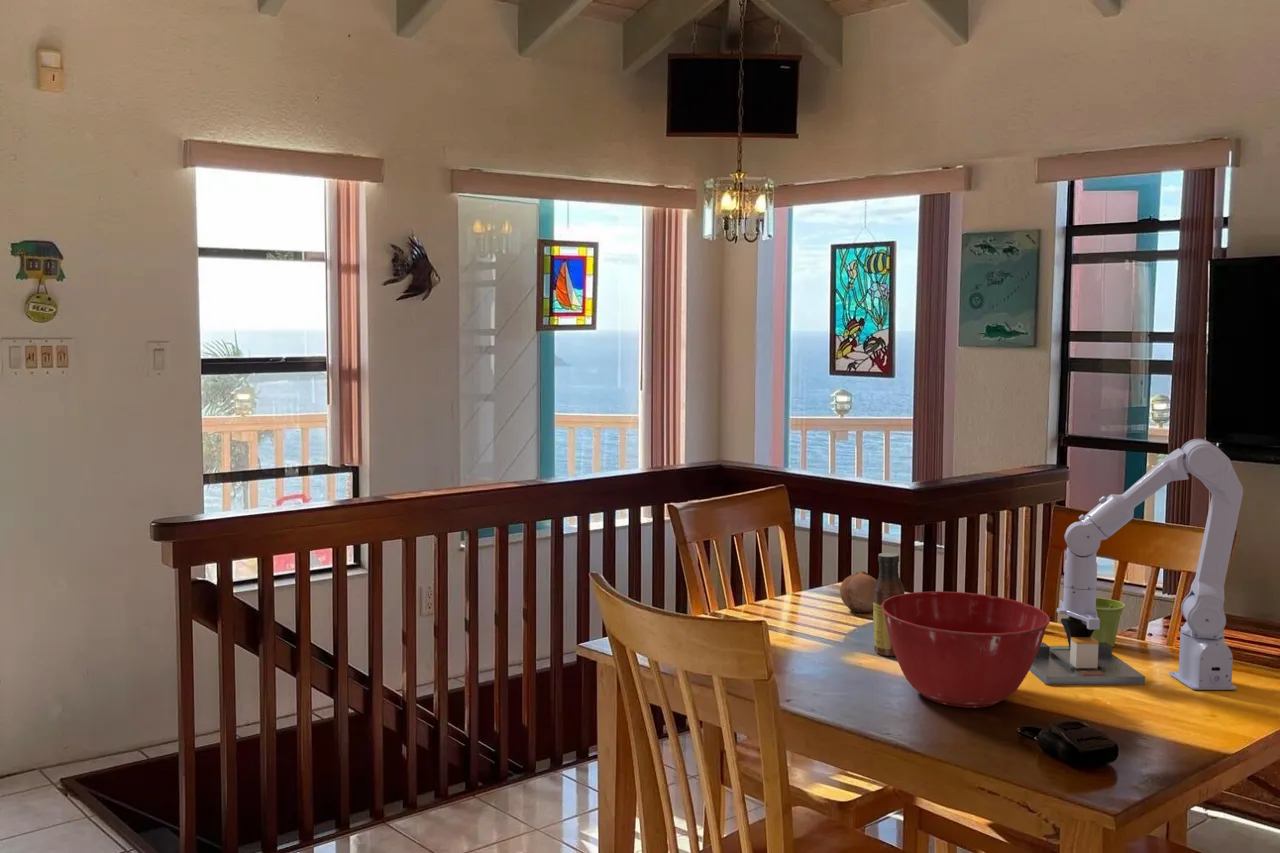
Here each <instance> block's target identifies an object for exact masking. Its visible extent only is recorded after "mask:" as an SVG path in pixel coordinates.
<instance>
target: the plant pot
mask: <svg viewBox="0 0 1280 853" xmlns="http://www.w3.org/2000/svg"><path fill="white" fill-rule="evenodd" d="M1125 608H1126V604H1125V603H1123V602H1121V601H1119V600H1115V599H1110V598H1103V597H1096V611H1097V617H1098V618H1099V619H1100V629H1099V630H1094V632H1093V633H1092V635H1091V637H1093V638H1094V639H1096V640H1097V641H1098V642H1106V643H1107V644H1109V645H1110V646H1112V648H1113V647H1115V644H1116V641H1117V640H1116V638H1117V634H1118V629H1119V624H1120V619H1121V615H1122V614H1123V610H1124V609H1125Z"/></svg>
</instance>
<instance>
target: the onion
mask: <svg viewBox="0 0 1280 853" xmlns="http://www.w3.org/2000/svg"><path fill="white" fill-rule="evenodd" d="M876 581H877V579H876V578H874V577H873V576H871V575H870V573H868V572H866V571H865V570H859V571H857V572H855V573H853V574H850V575H848V576H847V577H845V578H844V579H843V581H842V582H841V585H840V587H839V594H840V598H841V601H842V603H843V604H844V605H845V606H846V607H847V609H849V610H850V611H851V612H853V613H858V614H859V615H860V614H861V613H862V614H864V613H870V612H873V598H874V585H875V583H876Z"/></svg>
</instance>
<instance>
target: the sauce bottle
mask: <svg viewBox="0 0 1280 853" xmlns="http://www.w3.org/2000/svg"><path fill="white" fill-rule="evenodd" d="M877 561H878V570H879V571H878V578H877V579H876V580H877V581H876V583H875V585H874V598H873V611H872V612H873V613H872V615H873V618H872V619H873V620H872V623H873V647H874V651H875V653H876V654H878V655H880V656H884V657H885V656H887V657H896V656H895V653H894V650H893V647H892V644H891V641H890V637H889V634H888V629H887V625H886V620H885V615H884V612H883V610H882V607H881V606H882V603H883V602H884V601H885V600H886V599H888V598H890V597H893V596H896V595H901V594H906V592H905V588H906V587H905V586H904V584H903V582H902V579H901V578H900V576H899V575H900V573H899V563H900V555H899V554H898V553H895V552H881V553H878V555H877Z"/></svg>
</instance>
